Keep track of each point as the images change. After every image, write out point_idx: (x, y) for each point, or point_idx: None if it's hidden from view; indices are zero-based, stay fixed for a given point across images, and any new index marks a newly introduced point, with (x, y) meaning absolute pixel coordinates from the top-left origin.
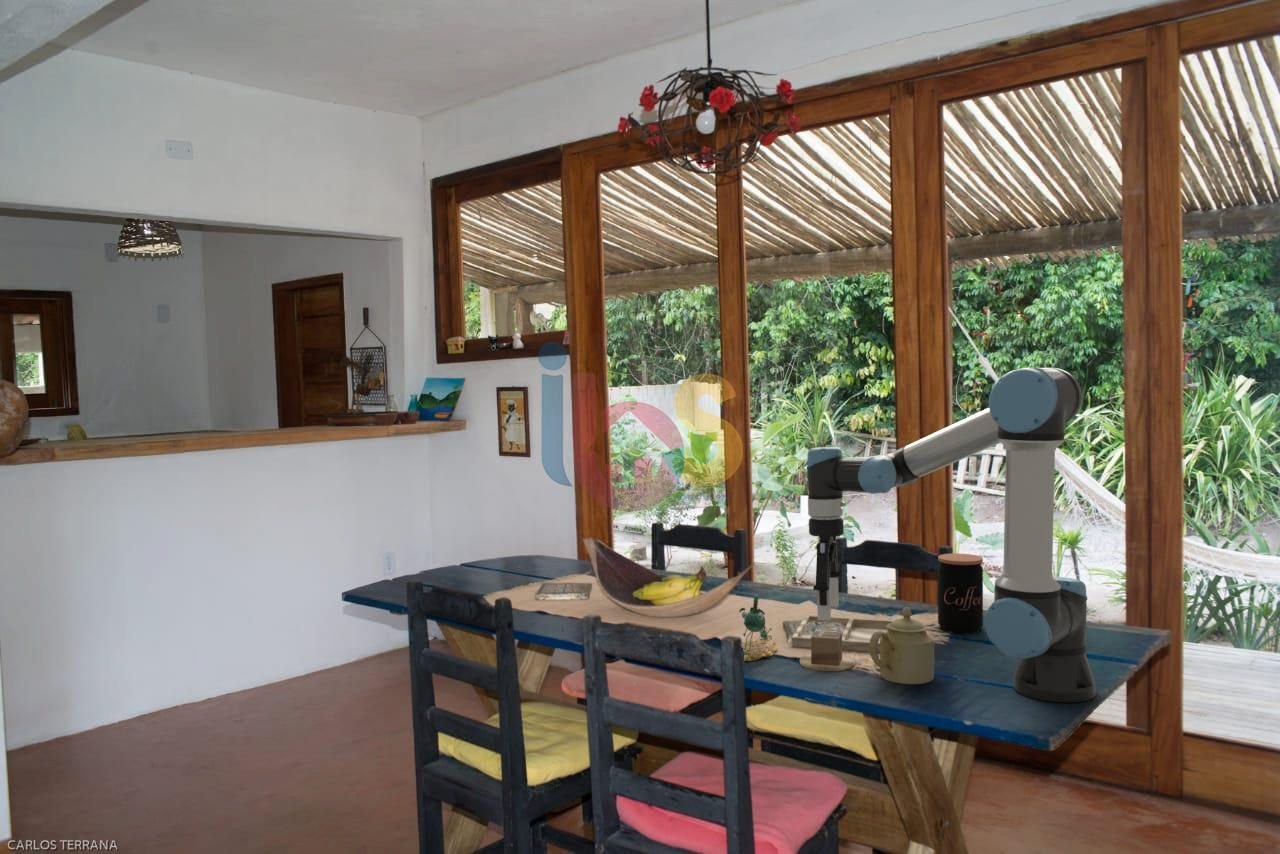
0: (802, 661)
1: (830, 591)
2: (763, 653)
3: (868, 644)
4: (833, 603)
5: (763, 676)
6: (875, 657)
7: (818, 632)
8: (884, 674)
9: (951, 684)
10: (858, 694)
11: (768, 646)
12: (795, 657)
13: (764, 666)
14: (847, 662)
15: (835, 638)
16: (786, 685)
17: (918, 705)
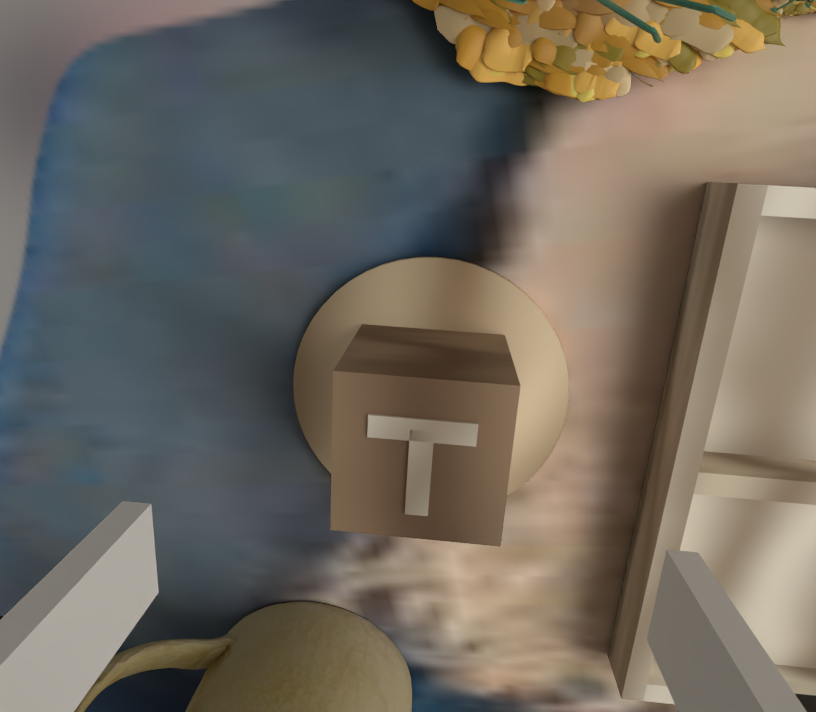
0: (393, 275)
1: (721, 702)
2: (460, 21)
3: (640, 597)
4: (663, 623)
5: (121, 87)
6: None
7: (458, 411)
8: (244, 626)
9: None
10: (39, 520)
11: (605, 32)
12: (509, 224)
13: (299, 63)
14: None
15: (335, 512)
16: (29, 228)
17: None
